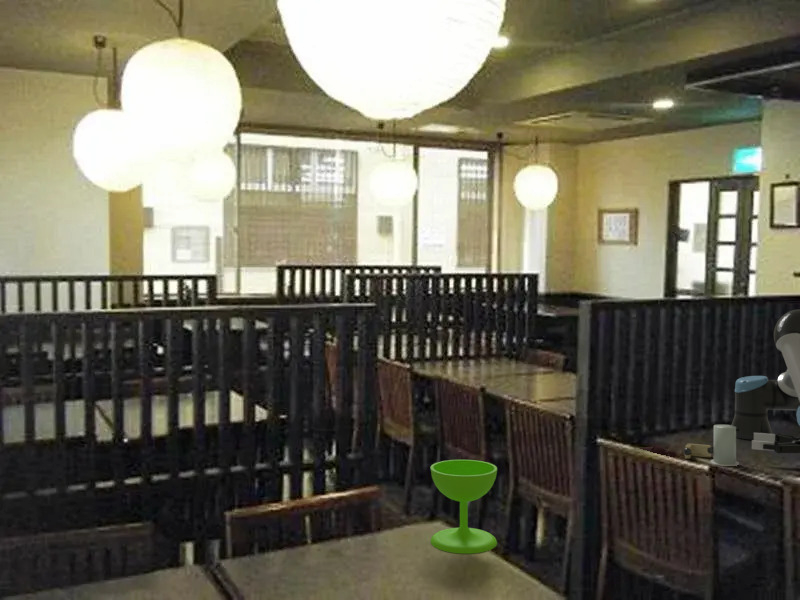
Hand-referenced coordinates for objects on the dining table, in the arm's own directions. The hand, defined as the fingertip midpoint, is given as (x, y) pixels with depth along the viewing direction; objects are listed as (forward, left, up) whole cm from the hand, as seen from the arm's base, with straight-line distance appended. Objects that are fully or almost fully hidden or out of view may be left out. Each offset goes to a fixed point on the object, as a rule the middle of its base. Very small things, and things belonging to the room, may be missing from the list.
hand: (752, 440), depth 259 cm
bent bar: (-5, -17, -9) cm, 20 cm away
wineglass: (+109, -59, -9) cm, 124 cm away
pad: (0, -9, -9) cm, 12 cm away
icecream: (+11, -29, -9) cm, 32 cm away
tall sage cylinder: (0, -9, -8) cm, 12 cm away
